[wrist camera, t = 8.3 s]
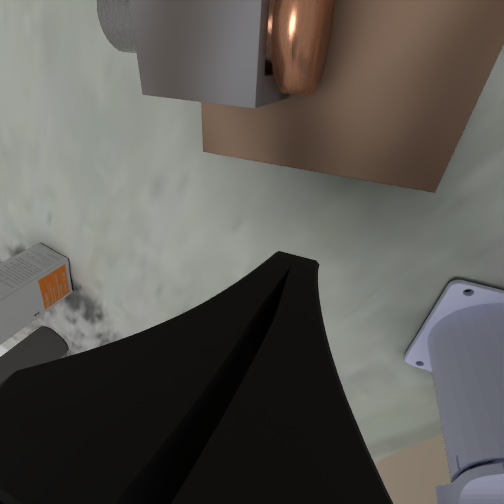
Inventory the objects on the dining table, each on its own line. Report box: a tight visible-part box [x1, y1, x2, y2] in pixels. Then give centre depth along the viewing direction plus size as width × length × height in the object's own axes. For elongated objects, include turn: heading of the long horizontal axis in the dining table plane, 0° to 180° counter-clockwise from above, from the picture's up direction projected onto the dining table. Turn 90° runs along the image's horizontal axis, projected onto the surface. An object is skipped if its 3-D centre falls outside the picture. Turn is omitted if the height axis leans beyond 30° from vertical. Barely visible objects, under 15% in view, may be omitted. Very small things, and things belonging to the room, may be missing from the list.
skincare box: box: [0, 243, 73, 344], centre depth 29 cm, size 6×4×12 cm
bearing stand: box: [129, 0, 504, 193], centre depth 11 cm, size 13×12×6 cm
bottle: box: [0, 327, 68, 383], centre depth 40 cm, size 6×6×15 cm
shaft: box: [97, 0, 335, 96], centre depth 11 cm, size 9×4×4 cm, turn 87°
